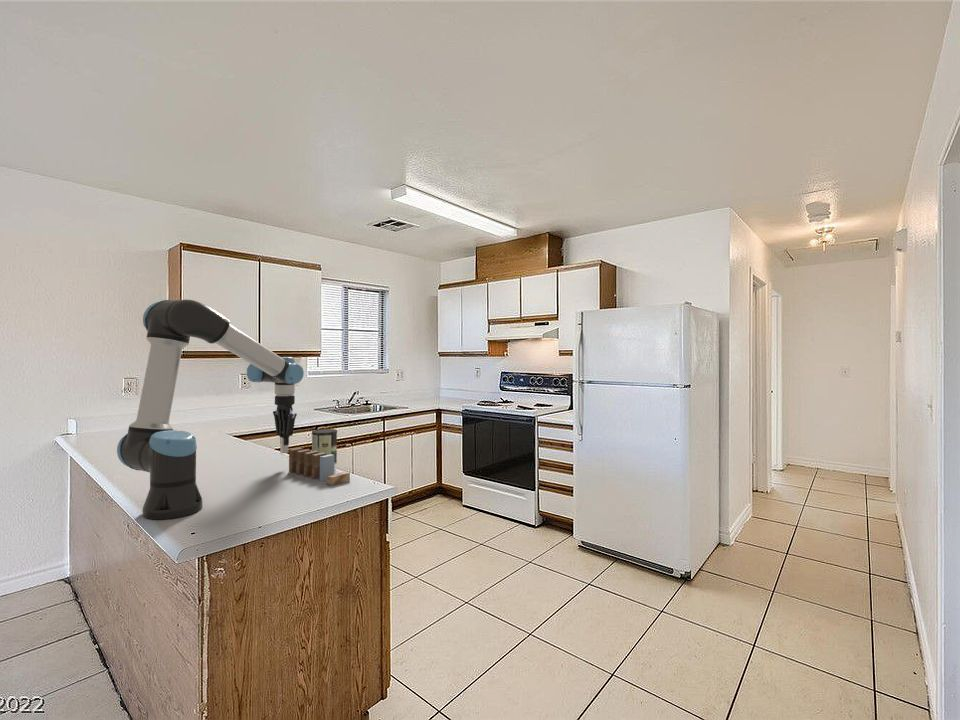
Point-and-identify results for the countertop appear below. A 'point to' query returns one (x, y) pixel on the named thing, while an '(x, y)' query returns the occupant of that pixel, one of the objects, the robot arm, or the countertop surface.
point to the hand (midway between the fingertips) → (284, 452)
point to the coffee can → (325, 442)
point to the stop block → (338, 478)
